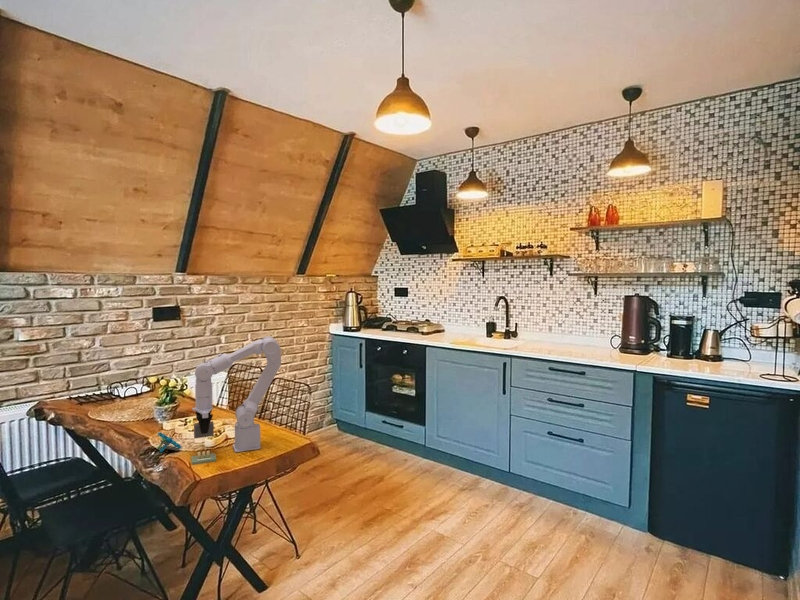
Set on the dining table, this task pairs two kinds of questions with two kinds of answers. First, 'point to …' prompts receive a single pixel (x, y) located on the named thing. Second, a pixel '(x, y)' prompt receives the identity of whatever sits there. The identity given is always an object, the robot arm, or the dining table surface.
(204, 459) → the header board
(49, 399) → the dining table surface
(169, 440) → the teal plastic t-shaped piece
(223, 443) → the dining table surface
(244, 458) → the dining table surface
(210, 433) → the plug housing
